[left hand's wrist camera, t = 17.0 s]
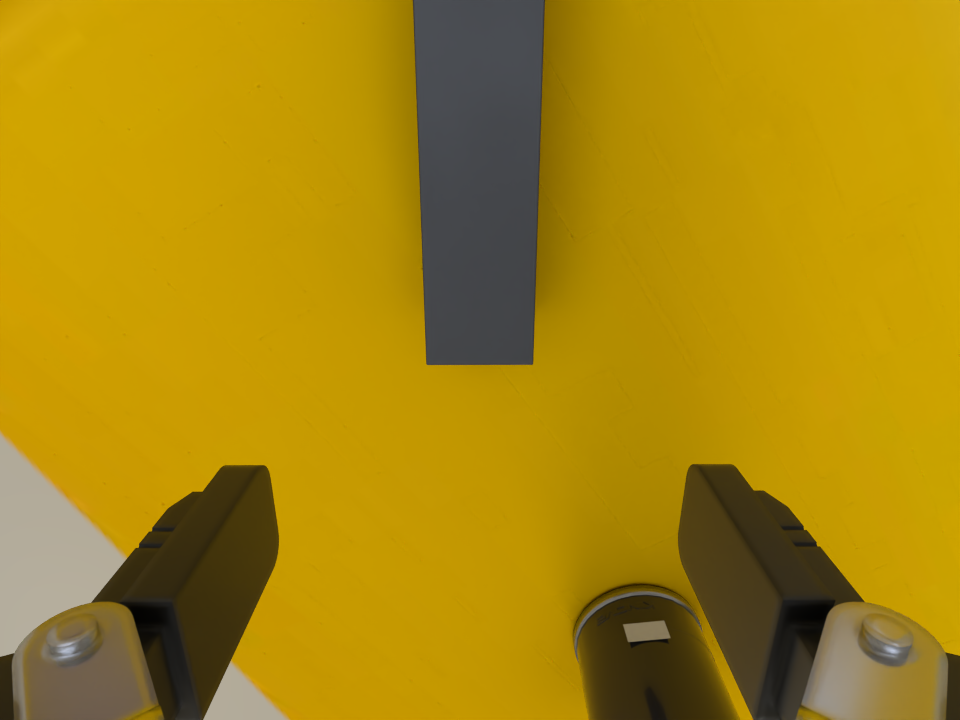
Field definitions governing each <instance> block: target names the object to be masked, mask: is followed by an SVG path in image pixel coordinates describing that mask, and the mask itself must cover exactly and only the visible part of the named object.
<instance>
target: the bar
mask: <svg viewBox="0 0 960 720" xmlns="http://www.w3.org/2000/svg"><path fill="white" fill-rule="evenodd" d="M544 7H545V0H413V13H414V40H415V67H416V94H417V121H418V148H419V175H420V202H421V229H422V256H423V283H424V310H425V337H426V364H427V365H532V364H533V349H534V318H535V287H536V256H537V225H538V194H539V163H540V131H541V100H542V69H543V38H544Z"/></svg>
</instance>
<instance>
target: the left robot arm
mask: <svg viewBox="0 0 960 720" xmlns="http://www.w3.org/2000/svg"><path fill="white" fill-rule="evenodd" d="M803 527H804V526H803V525H802V524H801V523H800V521H799V520H798V519H797V518H796V516H795V515H794V514H793V513H792V511H791V510H790V509H789V508H788V507H787V506H786V505H784V504H783V503H781V502H780V501H778V500H777V499H775V498H774V497H772V496H771V495H769V494H768V493H766V492H765V491H753V489H752V488H751V487H750V485H749V484H748V483H747V481H746V480H745V479H744V477H743V476H742V475H741V473H740V472H739V471H738V469H737V468H736V467H735V466H734V465H732V464H693V465H691V466H690V467H689V469H688V472H687V476H686V483H685V490H684V497H683V504H682V511H681V518H680V525H679V532H678V546H679V553H680V558H681V562H682V565H683V568H684V570H685V572H686V574H687V576H688V578H689V581H690V583H691V585H692V587H693V589H694V592H695V594H696V596H697V598H698V600H699V602H700V605H701V607H702V609H703V611H704V613H705V615H706V618H707V620H708V622H709V624H710V626H711V628H712V631H713V633H714V635H715V637H716V639H717V641H718V644H719V646H720V648H721V650H722V652H723V654H724V657H725V659H726V661H727V663H728V665H729V667H730V670H731V672H732V674H733V676H734V678H735V680H736V683H737V685H738V687H739V689H740V691H741V693H742V696H743V698H744V700H745V702H746V704H747V707H748V709H749V711H750V713H751V715H752V717H753V720H960V656H958V655H954V654H950V653H946V652H945V651H944V650H943V648H942V646H941V645H940V644H939V642H938V641H937V640H936V639H935V638H934V637H933V636H932V635H931V634H930V633H929V632H928V631H927V630H926V629H924V628H923V627H922V626H920V625H919V624H918V623H916V622H915V621H913V620H911V619H910V618H908V617H906V616H904V615H902V614H901V613H898V612H896V611H894V610H891V609H889V608H886V607H883V606H880V605H876V604H872V603H865V602H864V601H863V599H862V598H861V597H860V596H859V594H858V593H857V592H856V591H855V589H854V588H853V587H852V586H851V584H850V583H849V582H848V581H847V579H846V578H845V577H844V576H843V575H842V573H841V572H840V571H839V570H838V568H837V567H836V566H835V565H834V563H833V562H832V561H831V560H830V558H829V557H828V556H827V555H826V554H825V552H824V551H823V550H822V549H821V547H817V544H816V543H817V542H816V541H815V540H814V539H813V537H812V536H811V535H810V534H809V532H808V531H807V530H804V528H803ZM278 547H279V534H278V526H277V519H276V512H275V506H274V499H273V492H272V485H271V478H270V474H269V471H268V469H267V467H266V466H264V465H225V466H223V467H221V468H220V470H219V471H218V472H217V474H216V475H215V476H214V478H213V479H212V480H211V481H210V483H209V484H208V485H207V487H206V488H205V489H204V491H203V492H192V493H190V494H189V495H187V496H186V497H184V498H183V499H181V500H180V501H178V502H177V503H175V504H174V505H172V506H171V507H170V508H168V509H167V510H166V512H165V513H164V514H163V515H162V517H161V518H160V519H159V520H158V521H157V523H156V524H155V525H154V526H153V528H152V532H148V534H147V535H146V536H145V537H144V539H143V540H142V541H141V542H140V544H139V548H135V550H134V551H133V552H132V553H131V555H130V556H129V557H128V558H127V559H126V561H125V562H124V563H123V564H122V566H121V567H120V568H119V569H118V571H117V572H116V573H115V574H114V575H113V577H112V578H111V579H110V580H109V582H108V583H107V584H106V585H105V586H104V588H103V589H102V590H101V592H100V593H99V594H98V595H97V596H96V597H95V599H94V600H93V601H92V602H91V603H89V604H84V605H80V606H77V607H74V608H71V609H69V610H66V611H64V612H62V613H60V614H58V615H56V616H54V617H52V618H50V619H49V620H47V621H45V622H44V623H42V624H41V625H40V626H38V627H37V628H36V629H34V630H33V631H32V632H31V633H30V634H29V635H28V636H27V637H26V638H25V639H24V640H23V641H22V642H21V644H20V645H19V646H18V648H17V650H16V651H15V653H13V654H10V655H6V656H2V657H0V720H203V719H204V716H205V714H206V712H207V710H208V708H209V706H210V704H211V702H212V699H213V697H214V695H215V693H216V691H217V689H218V687H219V684H220V682H221V680H222V678H223V676H224V674H225V672H226V669H227V667H228V665H229V663H230V661H231V659H232V657H233V654H234V652H235V650H236V648H237V646H238V644H239V642H240V639H241V637H242V635H243V633H244V631H245V629H246V627H247V624H248V622H249V620H250V618H251V616H252V614H253V612H254V609H255V607H256V605H257V603H258V601H259V599H260V597H261V594H262V592H263V590H264V588H265V586H266V584H267V582H268V579H269V577H270V575H271V573H272V571H273V569H274V566H275V563H276V559H277V555H278ZM573 642H574V648H575V653H576V657H577V660H578V662H579V667H580V673H581V678H582V684H583V691H584V696H585V702H586V707H587V712H588V718H589V720H740V718H739V716H738V713H737V711H736V709H735V707H734V704H733V702H732V700H731V697H730V695H729V693H728V691H727V688H726V686H725V684H724V681H723V679H722V677H721V675H720V672H719V670H718V668H717V666H716V663H715V661H714V658H713V656H712V653H711V651H710V649H709V647H708V644H707V642H706V640H705V638H704V635H703V633H702V628H701V625H700V623H699V620H698V618H697V616H696V614H695V612H694V610H693V608H692V607H691V606H690V604H689V603H688V602H687V601H686V600H685V599H683V598H682V597H681V596H679V595H678V594H676V593H674V592H672V591H670V590H667V589H664V588H660V587H656V586H647V585H636V586H628V587H623V588H619V589H616V590H613V591H610V592H608V593H606V594H604V595H602V596H600V597H599V598H597V599H596V600H594V601H593V602H592V603H591V604H590V605H589V606H588V607H586V609H585V610H584V611H583V612H582V614H581V615H580V617H579V618H578V620H577V622H576V625H575V628H574V634H573Z"/></svg>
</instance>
